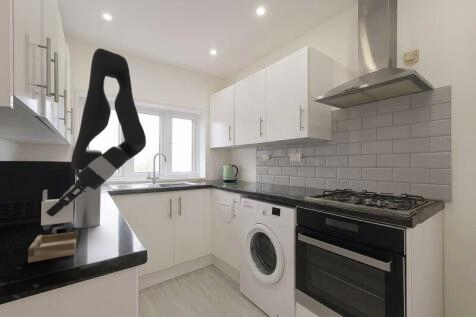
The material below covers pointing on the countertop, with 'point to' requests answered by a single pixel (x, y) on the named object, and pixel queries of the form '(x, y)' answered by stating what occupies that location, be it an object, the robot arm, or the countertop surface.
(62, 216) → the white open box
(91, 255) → the countertop surface
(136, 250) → the countertop surface
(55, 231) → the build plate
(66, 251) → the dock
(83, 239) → the countertop surface
